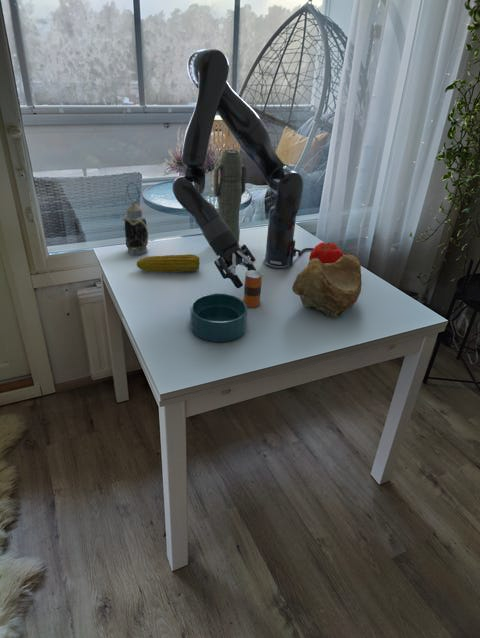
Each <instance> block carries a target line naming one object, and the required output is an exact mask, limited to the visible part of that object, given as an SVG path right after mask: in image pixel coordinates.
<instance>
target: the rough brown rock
mask: <svg viewBox="0 0 480 638" xmlns="http://www.w3.org/2000/svg"><path fill="white" fill-rule="evenodd" d="M343 255H344V256H342V257H341V258H339V259H338V260H337V261H336V262H334V263H327V264H322V263H321V261H320V260H319V259H317V258H313V259H311V260H310V261H308V264H307V265H306V267H304V269H302V270H301V271H300V272H299V273H298V274H297V275H296V277H295V280H294V281H293V283H292V286H291V287H292V292H293V293H294V294H295V295H297V296H299V298H300V301H301V303H302V306H304V307H305V308H311V307H314V308H315V310H318V311H322V312H323V313H324V314H325V315H326V316H329V317H330V318H331V319H336V318H339V317H341V316H342V315H343V314H344V313H345V312H346V311H348V310H349V309H350V308H351V307H352V306H354V305H355V304H356V303H357V301H358V299H359V297H360V295H361V292H362V268H361V267H362V265H361V263H360V261H359V259H358V257H356V256H355V255H353V254H349V253H348V254H343Z"/></svg>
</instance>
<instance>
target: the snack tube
mask: <svg viewBox="0 0 480 638" xmlns="http://www.w3.org/2000/svg"><path fill="white" fill-rule="evenodd" d="M256 270H257V269H256ZM256 270H249V271H248V270H247V271H245V272H244V277H245V278H244V286H243V287H244V291H243V302H245V304H246V305H247V308H257V307H259V306H260V301H261V290H262V279H263V273H262V272H261V271H260V270H257V271H256Z"/></svg>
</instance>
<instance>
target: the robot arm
mask: <svg viewBox="0 0 480 638" xmlns="http://www.w3.org/2000/svg"><path fill="white" fill-rule="evenodd" d="M186 67H187V68H186V69H187V74H188V77H189V79H190V81H191V82H192V84H193V85H194V87H196V88H197V89H198V91H197V98H196V102H195V107H194V110H193V113H192V115H191V118H190V120H189V123H188V125H187V128H186V130H185V134H184V137H183V143H182V148H181V149H182V150H181V155H180V156H181V157H180V161H181V164H182V165H183V166H184V175H181V176H178V177H176V178H175V179H174V180H173V182H172V186H171V189H172V193H173V195H174V197H175V199H176V201H177V202H178V203H179V205H180V206H182V208H183V209H184V210H185V211H186V212H187V213H188V214H189V215H191V217H192V218H193V219H194V221H195V223H196V225H197V226H198V227H199V229H200V231H201V232H202V235H203V237H204V238H205V240H206V241H207V243H208V245H209V246H210V248H211V249H212V251H213V253H214V254H215V255H216V257H217V256H218V258H216V259H215V260H214V261H213V263H214V265H215V267H216V268H217V270H218V272H219V273H220V275H221V278H222V279H223V280H225V279H229V280H230V281H231V282H232V284H233V286H234V287H235V288H236V289H237V290H239V289H241V288H242V287H244V283H243V282H242V280H241V279H240V277H239V276H238V274H237V273H236V272H237V271H236V269H237V266H243V267H245V268H246V270H247V271H249V270H256V271H258V270H257V268H256V267H255V265H254V264H255V261H256V258H255V256H254V255H253V253H252V252H251V251H250V249H249V248H248V246H247V244H243V245H241V246H240V247H239V246H237V242H238V241H237V240H236V238H235V237H234V235H233V233H232V232H231V230H230V229H229V227H228V226H227V224H226V223H225V221H224V220H223V219H222V218H221V216H220V215H219V213H218V209H216V206H215V205H214V204H213V203H212V202H210V201H209V200H206V198H204V197H203V194H204V191H205V188H206V161H207V158H208V157H207V155H208V151H209V147H210V146H209V145H210V139H211V135H212V130H213V127H214V122H215V118H216V115H217V114H218V115H219V117H220V118H221V120H222V121H223V123H224V124H225V126H226V127H227V128H228V130H229V131H230V133H231V135H232V136H233V138H234V139H235V141H236V142H237V143H238V145H239V146H240V148H241V149H243V151H244V152H245V154H246V155H247V156H248V157H249V158H250V160H251V161H252V162H253V163H254V164H255V166H256V167H257V168H258V169H259V171H260V173H261V175H262V177H263V178H264V181H265V182H266V184H267V186H268V187H269V189H270V191H271V192H272V193H274V195H276V200H275V205H273V206H271V207H270V208H269V212H268V222H267V224H268V225H267V236H266V248H265V255H264V256H265V257H264V264H265V265H266V266H267V267H270V268H274V269H286V268H289V267H291V266H293V264H294V263H293V262H294V257H296V255H297V253H298V256H301V255H303V253H304V252H305V251H312V250H313V249H314V248H315V247H305V248H303V249H302V250H300V249H297V248H296V240H295V239H294V237H295V230H296V222H297V215H298V213H299V211H300V208H301V205H302V197H303V192H304V179H303V176H302V175H301V174H300V173H299V172H297V171H296V170H294V169H291V168H290V167H288V166H287V165H286V164H285V163H284V162H283V161H282V160H281V158H280V157H279V156H278V154H277V153H276V151H275V149H274V146H273V145H274V144H273V142H272V138H271V135H270V133H269V130H268V128H267V127H266V125H265V124H264V122H263V121H262V119H261V118H260V116H259V114H258V113H257V112H256V111H255V110H254V108H252V107H251V106H250V105H249V104H248V103H247V102H246V101H245V100H244V99H242V97H240V96H239V94H237V93H236V92H235V91H234V89H233V88H232V87H231V86H230V84H229V83H228V79H229V75H230V74H229V73H230V63H229V59H228V58H227V56H226V54H225V53H224V52H222V51H221V50H220V49H217V48H206V49H205V48H204V49H203V48H202V49H198V50H196V51H194V52H192V53H191V54H190V56H189V57H188V60H187V65H186ZM327 243H328V244H330V242H327Z"/></svg>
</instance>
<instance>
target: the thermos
mask: <svg viewBox="0 0 480 638" xmlns="http://www.w3.org/2000/svg"><path fill="white" fill-rule="evenodd" d="M213 171H214V174H213V175H214V177H213V178H214V179H213V194H214V195H213V196H214V197H216V200H217V204H218V209H217V212H218V213H219V215H220V216H221V218H222V219H223V220H224V221H225V223H226V224H227V226H228V227H229V229H230V230H231V232H232V233H233V235H234V237H235V238H236V240H237V241H238V242H237V246H238V247H239V242H240V236H241V235H240V234H241V233H240V232H241V229H240V227H239V226H240V208H241V204H242V198H243V195H244V194H245V193H246V181H247V167H246V166H245V165H244V164H243V160H242V155H241V153H240V151H238V150H234V149H226V150H224V151H222V154H221V155H220V159H219V164H218V165H216V166H215V168H214V170H213Z"/></svg>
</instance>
